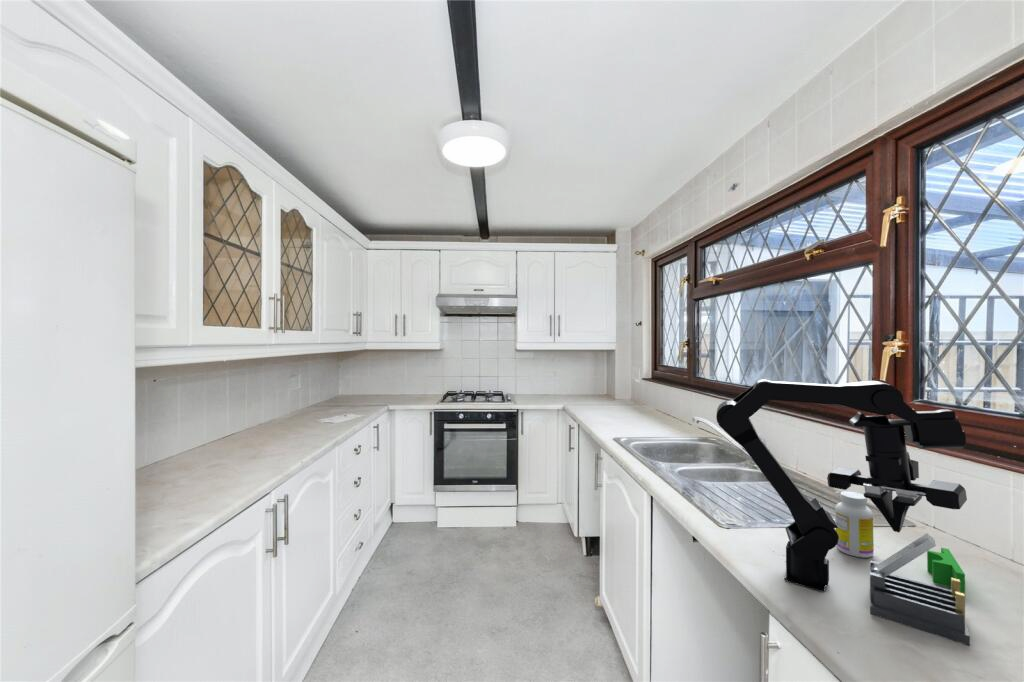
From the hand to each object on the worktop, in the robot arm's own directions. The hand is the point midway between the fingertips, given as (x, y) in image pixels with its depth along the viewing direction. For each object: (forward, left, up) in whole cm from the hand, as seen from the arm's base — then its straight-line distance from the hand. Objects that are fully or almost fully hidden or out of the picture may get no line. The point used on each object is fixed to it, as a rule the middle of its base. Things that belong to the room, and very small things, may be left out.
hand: (897, 531), depth 79 cm
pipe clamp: (+7, +13, -13) cm, 20 cm away
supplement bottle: (-7, +16, -13) cm, 21 cm away
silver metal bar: (+1, -5, -4) cm, 6 cm away
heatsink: (+2, -5, -12) cm, 13 cm away
